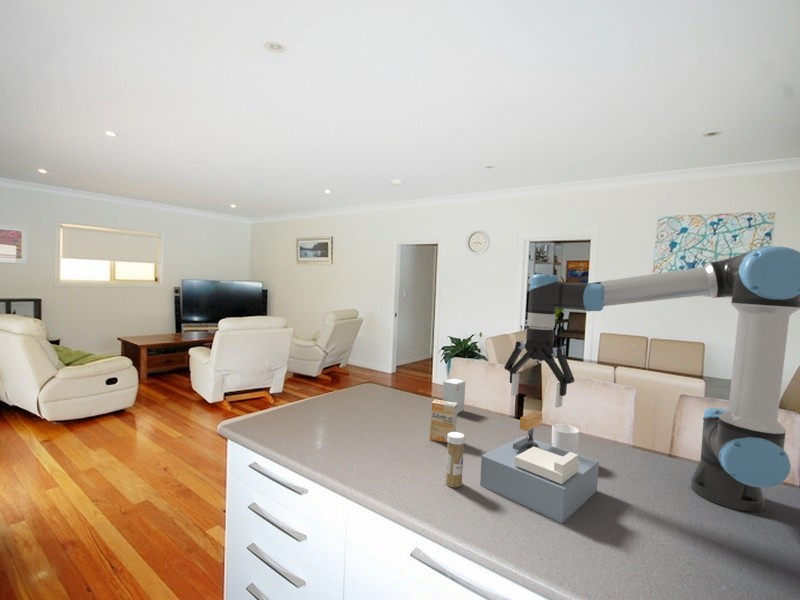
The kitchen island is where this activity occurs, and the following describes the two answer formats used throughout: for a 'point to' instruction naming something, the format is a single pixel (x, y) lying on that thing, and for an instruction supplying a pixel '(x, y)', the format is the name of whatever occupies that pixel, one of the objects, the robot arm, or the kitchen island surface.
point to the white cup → (565, 437)
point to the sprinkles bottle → (454, 459)
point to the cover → (548, 464)
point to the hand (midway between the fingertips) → (535, 400)
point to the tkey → (528, 429)
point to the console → (538, 481)
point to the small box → (454, 392)
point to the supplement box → (443, 419)
